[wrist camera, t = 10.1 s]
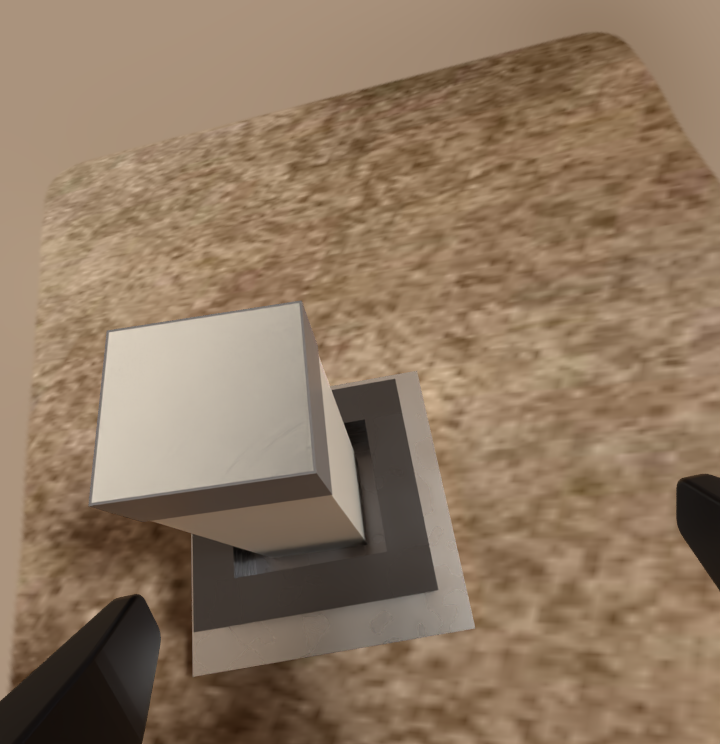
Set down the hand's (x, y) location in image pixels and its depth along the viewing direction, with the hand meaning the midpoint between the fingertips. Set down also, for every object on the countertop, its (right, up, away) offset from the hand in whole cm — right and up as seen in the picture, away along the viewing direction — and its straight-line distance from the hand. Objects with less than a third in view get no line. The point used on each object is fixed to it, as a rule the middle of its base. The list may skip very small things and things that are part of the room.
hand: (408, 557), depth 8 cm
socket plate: (-3, -3, +14) cm, 15 cm away
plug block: (-3, -3, +13) cm, 14 cm away
